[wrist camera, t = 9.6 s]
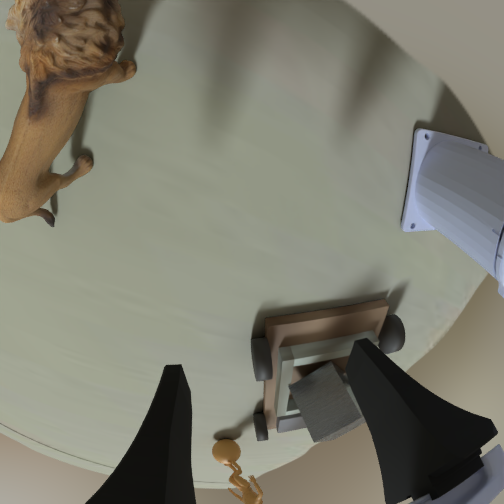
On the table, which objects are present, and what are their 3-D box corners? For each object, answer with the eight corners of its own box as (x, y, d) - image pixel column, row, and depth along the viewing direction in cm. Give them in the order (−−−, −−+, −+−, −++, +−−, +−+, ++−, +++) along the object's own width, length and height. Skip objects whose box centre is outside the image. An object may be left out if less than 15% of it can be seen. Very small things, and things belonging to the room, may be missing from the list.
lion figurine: (93, 0, 9) (15, -51, 1) (169, 14, 11) (134, -63, 3) (29, 212, 15) (-47, 288, 7) (90, 235, 17) (30, 330, 9)
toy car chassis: (394, 296, 24) (414, 322, 20) (348, 405, 34) (357, 425, 30) (250, 319, 22) (257, 354, 19) (253, 425, 32) (258, 448, 29)
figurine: (221, 428, 32) (231, 509, 21) (262, 430, 33) (278, 505, 23) (203, 447, 35) (210, 516, 25) (240, 449, 37) (251, 514, 27)
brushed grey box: (330, 360, 23) (361, 417, 18) (346, 372, 27) (371, 418, 22) (288, 386, 23) (314, 442, 19) (310, 394, 27) (333, 439, 23)
